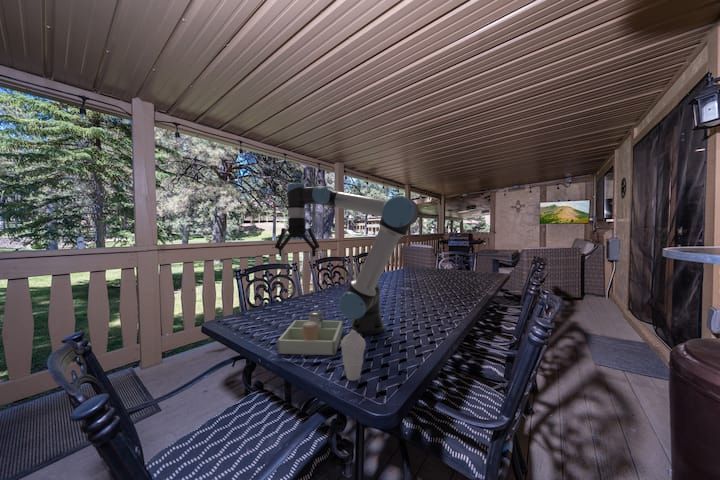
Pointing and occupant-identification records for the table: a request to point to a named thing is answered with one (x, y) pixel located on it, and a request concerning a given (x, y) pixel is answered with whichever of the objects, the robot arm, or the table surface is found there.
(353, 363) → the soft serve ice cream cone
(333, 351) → the tray
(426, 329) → the table surface
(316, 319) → the tin
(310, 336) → the jar
